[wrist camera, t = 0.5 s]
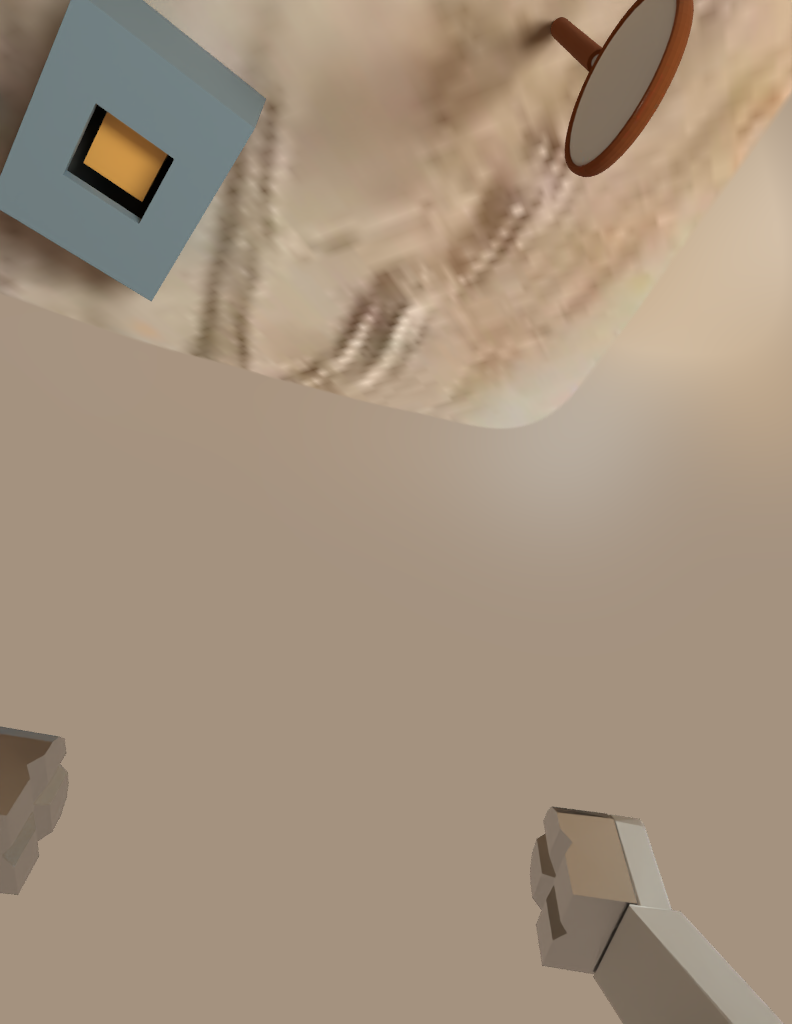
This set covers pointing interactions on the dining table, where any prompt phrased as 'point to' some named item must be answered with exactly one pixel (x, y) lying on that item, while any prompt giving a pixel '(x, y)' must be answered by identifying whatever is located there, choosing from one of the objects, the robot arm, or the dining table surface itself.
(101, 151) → the button
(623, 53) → the magnifying glass
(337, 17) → the dining table surface
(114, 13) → the box
